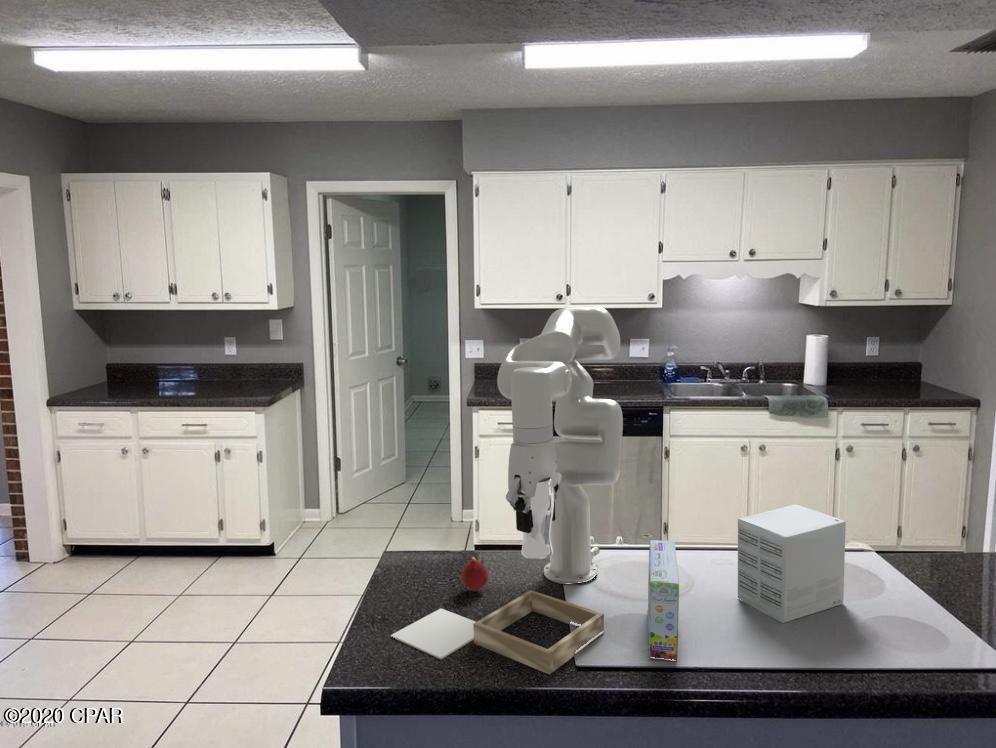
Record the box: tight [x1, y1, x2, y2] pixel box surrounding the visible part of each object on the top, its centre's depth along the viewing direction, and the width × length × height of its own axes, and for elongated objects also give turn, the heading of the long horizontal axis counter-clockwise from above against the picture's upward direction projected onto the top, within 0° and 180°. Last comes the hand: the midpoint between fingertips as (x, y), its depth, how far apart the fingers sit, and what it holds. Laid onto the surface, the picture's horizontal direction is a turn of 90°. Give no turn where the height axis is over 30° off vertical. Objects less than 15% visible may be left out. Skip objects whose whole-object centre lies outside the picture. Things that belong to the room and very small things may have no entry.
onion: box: [461, 556, 489, 593], centre depth 159 cm, size 6×6×8 cm
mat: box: [390, 607, 477, 660], centre depth 142 cm, size 14×14×1 cm
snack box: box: [647, 539, 680, 661], centre depth 138 cm, size 21×6×15 cm, turn 168°
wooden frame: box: [473, 590, 605, 675], centre depth 138 cm, size 18×18×4 cm
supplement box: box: [737, 503, 847, 624], centre depth 148 cm, size 17×13×18 cm
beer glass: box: [520, 477, 554, 561], centre depth 135 cm, size 7×7×15 cm
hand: (536, 524), depth 136 cm, fingers closed on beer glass, 6 cm apart
